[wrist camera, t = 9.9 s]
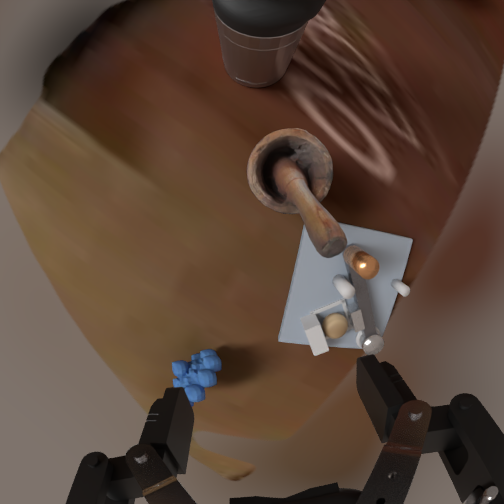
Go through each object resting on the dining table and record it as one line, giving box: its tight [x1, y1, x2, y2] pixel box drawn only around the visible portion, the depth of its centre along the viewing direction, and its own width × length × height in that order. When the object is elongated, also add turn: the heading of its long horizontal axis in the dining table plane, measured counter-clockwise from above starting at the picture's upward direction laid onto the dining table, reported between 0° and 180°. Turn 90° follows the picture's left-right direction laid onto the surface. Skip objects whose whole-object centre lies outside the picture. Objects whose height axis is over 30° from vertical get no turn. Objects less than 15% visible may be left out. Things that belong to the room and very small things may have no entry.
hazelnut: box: [322, 313, 348, 339], centre depth 44 cm, size 4×4×4 cm
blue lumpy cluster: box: [172, 349, 222, 407], centre depth 43 cm, size 12×7×12 cm, turn 138°
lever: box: [342, 243, 384, 355], centre depth 41 cm, size 19×4×8 cm, turn 20°
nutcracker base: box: [278, 222, 413, 356], centre depth 43 cm, size 20×18×6 cm
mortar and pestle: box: [247, 128, 347, 258], centre depth 32 cm, size 12×9×20 cm
